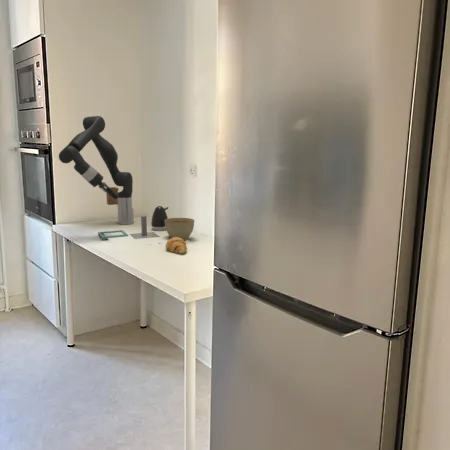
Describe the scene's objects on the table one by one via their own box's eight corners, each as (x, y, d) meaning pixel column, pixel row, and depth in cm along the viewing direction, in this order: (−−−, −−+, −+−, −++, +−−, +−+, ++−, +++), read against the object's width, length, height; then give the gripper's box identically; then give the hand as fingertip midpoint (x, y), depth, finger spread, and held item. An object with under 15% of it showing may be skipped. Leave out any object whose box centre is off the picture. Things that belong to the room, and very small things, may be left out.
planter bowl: (194, 242, 237) (194, 222, 235) (163, 243, 236) (163, 222, 234) (194, 236, 253) (194, 217, 251) (166, 236, 252) (165, 217, 250)
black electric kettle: (171, 232, 263) (170, 206, 260) (153, 233, 259) (152, 207, 257) (166, 229, 272) (166, 204, 270) (149, 230, 269) (149, 205, 266)
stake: (129, 236, 253) (128, 215, 250) (153, 233, 258) (152, 213, 256) (134, 241, 240) (134, 219, 238) (160, 238, 246) (159, 217, 244)
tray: (98, 235, 254) (97, 232, 253) (122, 233, 259) (122, 230, 259) (102, 240, 241) (102, 236, 241) (128, 238, 247) (128, 234, 247)
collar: (106, 203, 248) (106, 187, 246) (117, 203, 250) (117, 187, 249) (108, 204, 243) (108, 188, 242) (119, 204, 246) (119, 188, 244)
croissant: (189, 261, 213) (196, 246, 214) (171, 254, 209) (178, 238, 209) (174, 250, 232) (180, 237, 232) (157, 243, 227) (164, 229, 227)
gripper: (99, 172, 234) (123, 194, 241) (94, 170, 247) (117, 191, 254) (89, 182, 233) (113, 204, 240) (85, 180, 245) (108, 201, 253)
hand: (115, 197), depth 247 cm, fingers closed on collar, 5 cm apart
